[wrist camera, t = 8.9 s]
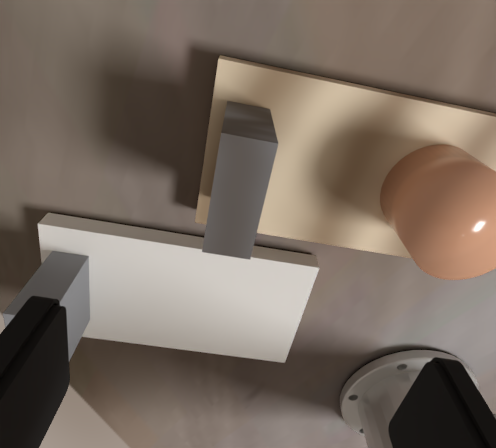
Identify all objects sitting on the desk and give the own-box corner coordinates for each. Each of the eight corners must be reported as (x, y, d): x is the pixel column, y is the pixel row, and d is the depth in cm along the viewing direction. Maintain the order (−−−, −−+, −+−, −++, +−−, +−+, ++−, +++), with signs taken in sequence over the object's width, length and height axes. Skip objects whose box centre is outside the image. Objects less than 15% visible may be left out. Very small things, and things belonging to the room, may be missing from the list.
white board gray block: (315, 255, 28) (337, 332, 21) (283, 348, 32) (292, 434, 26) (48, 212, 26) (-19, 282, 19) (56, 318, 31) (6, 402, 24)
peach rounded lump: (497, 154, 22) (559, 190, 18) (451, 238, 25) (494, 287, 21) (402, 135, 22) (441, 168, 17) (366, 224, 24) (392, 270, 20)
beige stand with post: (530, 120, 23) (645, 167, 16) (454, 254, 28) (518, 331, 21) (220, 55, 21) (208, 77, 14) (197, 211, 26) (181, 281, 19)
